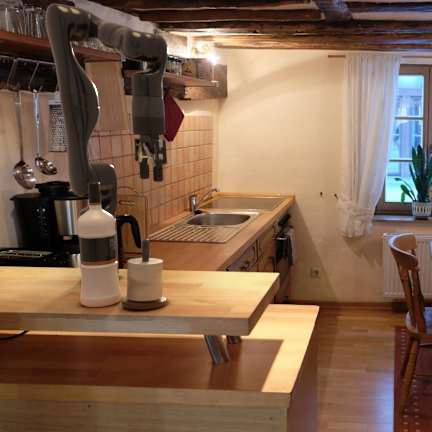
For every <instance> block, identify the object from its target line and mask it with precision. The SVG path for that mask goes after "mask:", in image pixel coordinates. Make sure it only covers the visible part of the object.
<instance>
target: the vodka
mask: <svg viewBox="0 0 432 432" xmlns="http://www.w3.org/2000/svg"><path fill="white" fill-rule="evenodd" d="M88 192H89V197H88V206H89V210H88V211H87V212H86V213H84V214H83V215H82V216H80V217H79V216H78V219H77V221H76V226H77V227H76V228H77V237H78V243H79V245H78V246H79V255H80V256H79V258H80V259H79V260H80V263H79V268H80V275H81V277H80V278H81V279H80V281H81V283H80V284H81V285H80V294H79V302H80V304H81V305H83V306H84V307H88V308H105V307H109V306H114V305H115V304H117V303H119V302H120V301H122V299H123V298H122V297H123V294H122V292H123V291H122V290H121V285H120V278H119V279H118V271H117V264H118V263H119V261H118V262H117V254H116V237H115V233H116V231H115V219H114V217H113V216H112V215H111V214H109V213H107V212H106V211H104V210H102V208H101V197H100V183H98V182H91V183H88Z"/></svg>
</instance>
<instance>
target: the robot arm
mask: <svg viewBox="0 0 432 432" xmlns="http://www.w3.org/2000/svg"><path fill="white" fill-rule="evenodd" d="M45 27H46V28H45V29H46V33H47V36H48V40H49V45H50V49H51V53H52V56H53V61H54V66H55V72H56V78H57V85H58V93H59V102H60V107H61V113H62V119H63V124H64V125H63V126H64V132H65V140H66V141H65V142H66V152H67V153H66V154H67V156H66V157H67V171H68V172H67V173H68V181H69V186H70V189H71V192H72V193H73V195H75V196H76V197H79V198H89V192H88V183H91V182H98V183H100V197H101V208H102V210H104V211H106V212H107V213H109V214H111V215H112V216H113V217H114V219H115V231H116V233H115V237H116V254H117V262H118V264H117V271H118V279H119V280H120V268H119V267H120V266H119V250H118V249H119V248H118V233H117V231H118V230H117V211H118V207H119V205H118V201H119V200H118V197H119V195H118V193H119V192H118V187H119V185H118V176H117V172H116V169H115V167H114V166H113V164H111V163H109V162H104V161H103V162H102V161H100V162H90V161H89V143H90V141H91V137H92V135H93V134H94V132H95V129H96V128H97V125H98V122H99V119H100V118H101V117H100V116H101V109H100V108H101V107H100V101H99V100H100V99H99V94H98V90H97V88H96V85H95V84H94V82H93V81H92V80H91V78H90V76H89V75H88V74H87V73H86V71H85V70H84V69H83V67H82V66H81V65H80V63H79V62H78V59H77V58H76V56H75V52H74V49H73V46H72V43H76V44H77V43H79V44H82V43H83V44H85V43H91V44H92V43H95V44H99V45H100V46H101V47H102V48H103V49H105V50H108V51H111V52H114V53H115V54H119V55H121V56H122V57H124V58H125V59H127V60H131V61H136V62H143V63H146V66H145V69H144V70H142V71H136V72H133V73H132V74H131V95H132V96H131V123H132V133H133V135H136V136H137V135H138V136H139V137H137V138H136V137H135V138H134V140H133V141H134V160H135V162H137V164H138V166H139V167H138V168H139V179H141V180H149V179H150V162H151V165H152V180H153V182H155V183H158V182H159V183H160V182H161V183H162V182H163V181H164V168H163V167H164V166H165V165H167V164H168V155H167V154H168V153H167V142H166V141H167V140H166V139H160V136H164V135H165V134H166V118H165V117H166V115H165V104H164V95H163V94H164V89H163V79H164V75H165V71H166V66H167V62H168V58H169V46H168V43H167V41H166V39H165V37H163V36H162V35H161V34H158V33H152V32H145V31H140V30H136V29H135V30H134V29H133V28H132V27H129V26H126V25H123V24H119V23H116V22H111V21H107V20H104V19H102V18H101V17H99V16H97V15H95V14H94V13H93V12H90V11H89V10H87V9H85V8H82V7H78V6H72V5H67V4H61V3H60V4H59V3H51V4H49V6H47V8H46V11H45ZM88 210H89V205H87V206H85V207H84V208H81V209H80V210H79V212H78V218H79V217H80V216H82V215H83V214H84V213H86V212H87V211H88Z"/></svg>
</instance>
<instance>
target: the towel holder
mask: <svg viewBox="0 0 432 432" xmlns="http://www.w3.org/2000/svg"><path fill="white" fill-rule="evenodd" d="M141 244H142V245H141V246H142V248H141V250H142V251H141V257H137V258H130V259H128V260H127V263H126V264H127V268H126V296H124V297H123V298H121V305H122V307H123V308H126V309H130V310H152V309H158V308H162V307H164V306H165V305H166V304H167V297H166V296H164V295H163V277H164V276H163V275H164V274H163V273H164V260H163V259H161V258H155V257H150V247H151V241H150V239H149V238H144V239H142V241H141Z"/></svg>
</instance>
